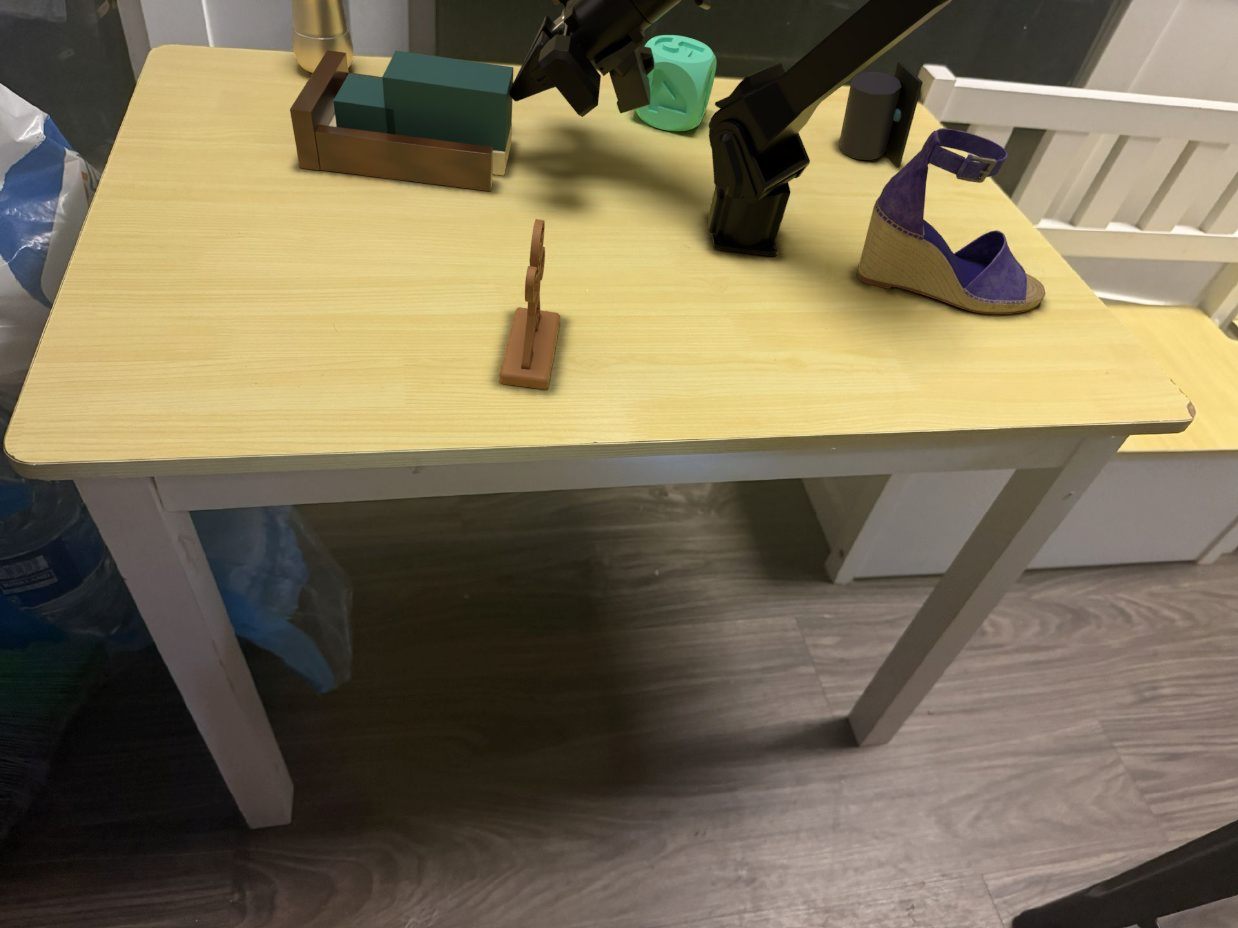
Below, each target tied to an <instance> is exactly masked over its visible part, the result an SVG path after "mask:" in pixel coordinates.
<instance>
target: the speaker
mask: <svg viewBox="0 0 1238 928" xmlns="http://www.w3.org/2000/svg"><path fill="white" fill-rule="evenodd" d="M850 80H851V81H850V86H849V91H848V96H847V101H846V106H845V107H846V108H845V111H844V116H843V122H842V126H841V132H840V135H839V142H838V145H839V151H840V152H841V153H842V154H843V155H844V156H848V157H850V158H853V159H856V160H871V161H873V160H876V159H879V158H880V157H881V156H883V155H885V156H886V157H887V158H888V159H889V160H890V161H891V163H892V164H893V165H894V166H895V167H896V168H900V167H901V166H902V162H903V157H904V154H905V149H906V146H907V142H908V139H909V136H910V132H911V127H912V123H913V120H914V116H915V114H916V109H917V106H918V101H919V99H920V98H919V97H920V95H921V91H922V87H923V83H924V82H923V80H921V79H920V78H919V77H918V76H917V75H916V74H915V73H914V72H913V71H912V70H911V69H910V68H909V67H907V66H906V64H904V63H903V62H902V61H897V64H896V68H895V72H894V75H891V74H889V73H885V72H883V71H864V72H859V73H858V74H857V75H855V76H854V77H853V78H852V79H850Z"/></svg>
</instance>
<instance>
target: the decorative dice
mask: <svg viewBox="0 0 1238 928" xmlns="http://www.w3.org/2000/svg"><path fill="white" fill-rule="evenodd" d="M644 47H650V48H651V50H652V53H653V57H654V62H655V67H654V69H653V70H652V71H651V72H650V73H649V74H648V75H647V77H648V78H649V85H650V105H647V106H644V107H641V108H637V109H634V111H635V113H636V114H637V116H638V117H639V118H640V120H641V121H643V122H644V123H645V124H647V125H648V126H651V127H653V128H656V129H658V130H662V131H669V132H687V131H691V130H693V129H695V128H697V127H698V126H700V124H701V123H702V121H703V118H704V116H705V113H706V110H707V107H708V105H709V101H710V97H711V94H712V90H713V85H714V81H715V76H716V71H717V57H716V55H715V53H714V52H713V50H712V49H711V47H709V46H708V45H707V44H705V43H704V42H701V41H699V40H697V39H694V38H692V37H687V36H683V35H675V34H662V35H656V36H654V37H652V38H650V39H649V40H648V41H647V42H646V43H645V44H644Z"/></svg>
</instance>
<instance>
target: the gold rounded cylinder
mask: <svg viewBox="0 0 1238 928" xmlns="http://www.w3.org/2000/svg"><path fill="white" fill-rule="evenodd" d="M290 1H291V17H292V27H291V48H292V51H293V54H294V56H295V61H296V62H297V63H298V64H299V66H300V67H301V68H302V69H303V70H305V71H306V72H308V73H311V74H313V72H314V70H315V69H316V67H317V66H318V64H319V62H320V61H321V59H322V58H323V56H324V55H325V53H326V51H327V50H330V51H337V52H344V53H346V55H347V64H348V69H349V68H350V67H351V65H352V63H353V58H354V44H353V40H352V35H351V32H350V28H349V26H348V22H347V16H346V10H345V5H344V0H290Z"/></svg>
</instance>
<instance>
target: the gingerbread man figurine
mask: <svg viewBox="0 0 1238 928" xmlns="http://www.w3.org/2000/svg"><path fill="white" fill-rule="evenodd" d="M545 228H546V226H545V220H544V219H538V218H535V220H534V223H533V228H532V234H531V242H530V251H529V265H528V266H527V268H526V275H525V282H524V283H525V284H524V301H525V302H526V303H527V307H520V306H519V307H516V308H515V310H514V314H513V318H512V323H511V327H510V331H509V334H508V339H507V342H506V347H505V351H504V355H503V359H502V363H501V366H500V372H499V383H500V384H503V385H509V386H516V387H522V388H532V389H538V390H547V389H549V385H550V380H551V379H550V378H551V375H552V374H551V373H552V368H553V362H554V357H555V352H556V347H557V340H558V335H559V330H560V324H561V315H560V313H558V312H556V311H555V312H554V311H549V310H541V283H542V282H541V281H543V279H544V272H545V263H546V247H545V246H544V241H545Z"/></svg>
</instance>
